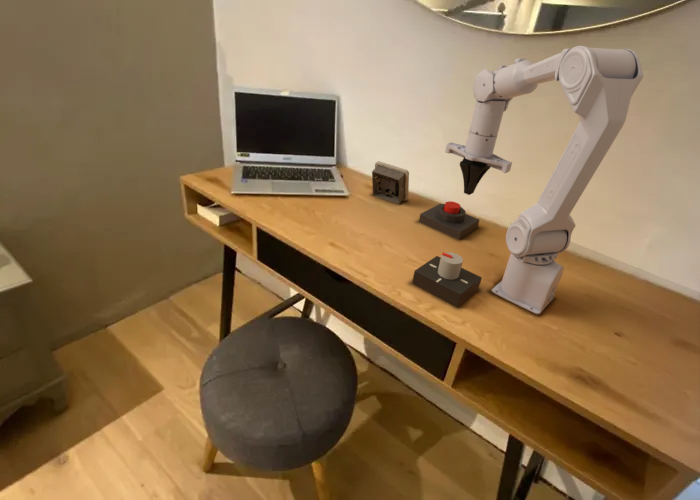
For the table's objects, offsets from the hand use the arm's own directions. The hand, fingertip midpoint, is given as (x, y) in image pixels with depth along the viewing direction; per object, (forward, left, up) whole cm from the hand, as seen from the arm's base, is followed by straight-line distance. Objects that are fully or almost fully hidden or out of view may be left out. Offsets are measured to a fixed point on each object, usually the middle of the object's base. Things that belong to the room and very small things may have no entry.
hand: (468, 192), depth 104 cm
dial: (-9, +21, -7) cm, 24 cm away
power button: (+4, -2, -7) cm, 8 cm away
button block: (+4, -2, -10) cm, 11 cm away
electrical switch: (+22, -2, -11) cm, 24 cm away
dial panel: (-9, +21, -10) cm, 25 cm away
